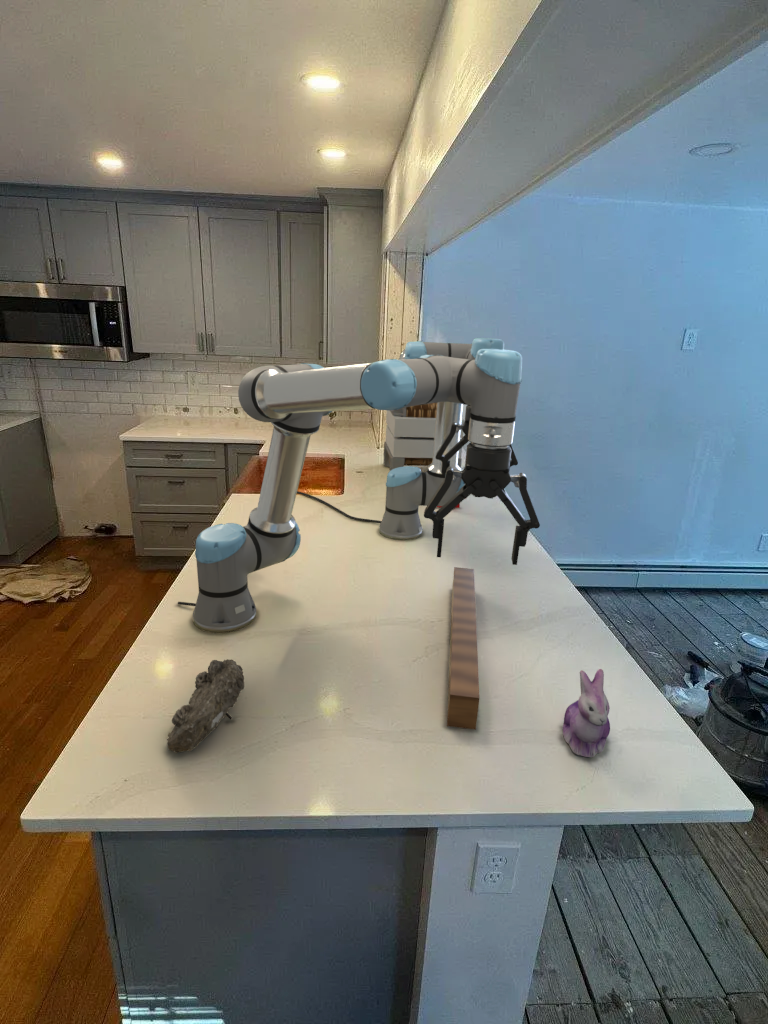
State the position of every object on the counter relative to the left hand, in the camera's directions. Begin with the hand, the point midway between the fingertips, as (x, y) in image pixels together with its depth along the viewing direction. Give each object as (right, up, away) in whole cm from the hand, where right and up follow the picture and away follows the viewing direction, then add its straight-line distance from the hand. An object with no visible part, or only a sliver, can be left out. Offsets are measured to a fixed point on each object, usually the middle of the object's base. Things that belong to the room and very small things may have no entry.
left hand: (476, 558), depth 103 cm
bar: (+2, -24, +31) cm, 39 cm away
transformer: (0, +27, +172) cm, 174 cm away
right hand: (+6, +14, +41) cm, 44 cm away
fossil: (-50, -31, +5) cm, 59 cm away
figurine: (+21, -35, +3) cm, 41 cm away
